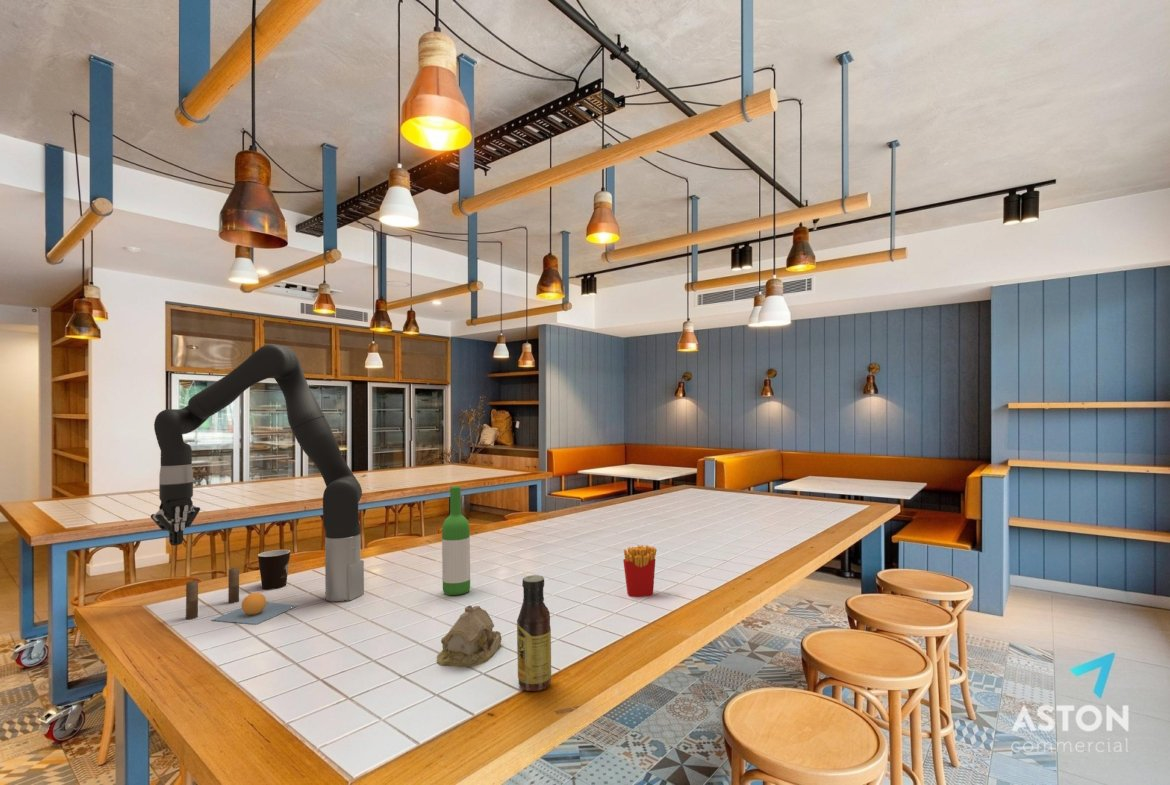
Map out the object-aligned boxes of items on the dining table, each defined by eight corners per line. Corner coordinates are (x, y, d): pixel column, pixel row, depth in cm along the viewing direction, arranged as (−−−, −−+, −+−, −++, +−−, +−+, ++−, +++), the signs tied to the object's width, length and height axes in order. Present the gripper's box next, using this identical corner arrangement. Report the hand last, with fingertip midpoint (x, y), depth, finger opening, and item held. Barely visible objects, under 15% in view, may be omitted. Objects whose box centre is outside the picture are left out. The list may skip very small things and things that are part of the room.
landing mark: (298, 605, 152) (298, 604, 152) (256, 624, 138) (256, 623, 138) (256, 602, 155) (256, 601, 155) (211, 620, 142) (211, 619, 142)
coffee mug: (276, 591, 165) (276, 557, 165) (250, 590, 167) (251, 556, 167) (303, 579, 176) (303, 547, 177) (279, 578, 178) (279, 547, 178)
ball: (269, 588, 148) (253, 591, 149) (250, 594, 142) (235, 597, 144) (272, 609, 147) (257, 612, 149) (254, 616, 142) (238, 619, 143)
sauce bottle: (518, 678, 107) (516, 573, 108) (551, 676, 107) (549, 571, 108) (517, 695, 100) (515, 583, 101) (552, 693, 101) (550, 581, 102)
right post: (241, 600, 157) (241, 568, 157) (233, 603, 155) (233, 570, 155) (233, 599, 158) (234, 567, 158) (226, 602, 155) (226, 570, 156)
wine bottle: (446, 598, 155) (445, 489, 157) (439, 590, 162) (438, 486, 164) (473, 593, 159) (472, 487, 160) (466, 586, 166) (464, 484, 167)
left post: (200, 616, 145) (200, 581, 145) (191, 619, 143) (191, 583, 143) (192, 615, 146) (192, 580, 146) (183, 619, 143) (183, 583, 144)
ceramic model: (472, 672, 110) (472, 620, 111) (426, 663, 115) (426, 614, 115) (510, 645, 123) (509, 598, 124) (467, 638, 128) (467, 593, 128)
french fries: (626, 597, 152) (625, 549, 153) (623, 593, 157) (621, 546, 157) (659, 595, 154) (658, 547, 155) (654, 590, 158) (653, 543, 159)
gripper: (163, 484, 147) (163, 551, 147) (208, 478, 160) (208, 539, 160) (141, 484, 149) (141, 550, 149) (188, 478, 162) (188, 539, 161)
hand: (176, 544), depth 154 cm, fingers closed
